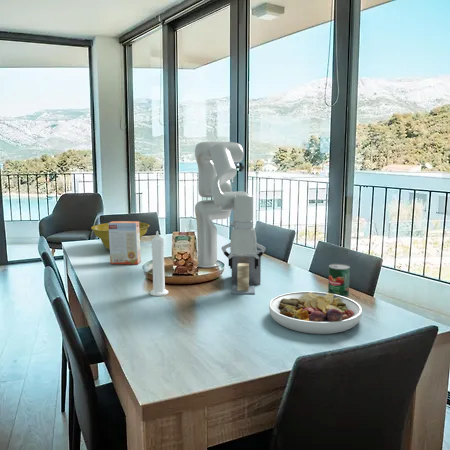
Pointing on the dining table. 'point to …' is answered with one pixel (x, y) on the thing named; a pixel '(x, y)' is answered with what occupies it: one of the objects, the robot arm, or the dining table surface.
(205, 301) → the dining table surface
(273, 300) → the bowl
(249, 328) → the dining table surface
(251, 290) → the mat
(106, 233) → the planter bowl
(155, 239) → the candle
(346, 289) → the canned tomato
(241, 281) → the peg
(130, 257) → the cracker box
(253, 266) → the post block
